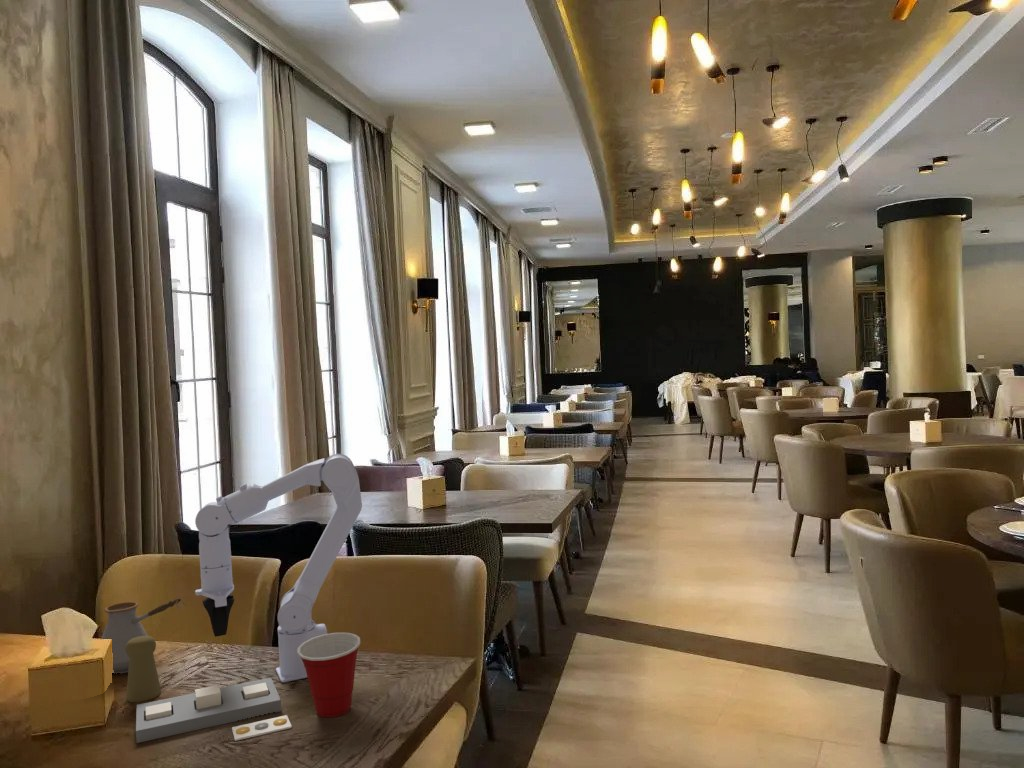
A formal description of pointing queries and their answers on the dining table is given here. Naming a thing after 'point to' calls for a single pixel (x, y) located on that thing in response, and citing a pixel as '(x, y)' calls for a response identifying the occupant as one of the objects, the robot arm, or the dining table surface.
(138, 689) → the olive pepper shaker
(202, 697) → the button middle
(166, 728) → the button board
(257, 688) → the button
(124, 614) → the coffee pot
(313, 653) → the plastic cup
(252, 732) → the card
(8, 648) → the dining table surface
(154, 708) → the button
